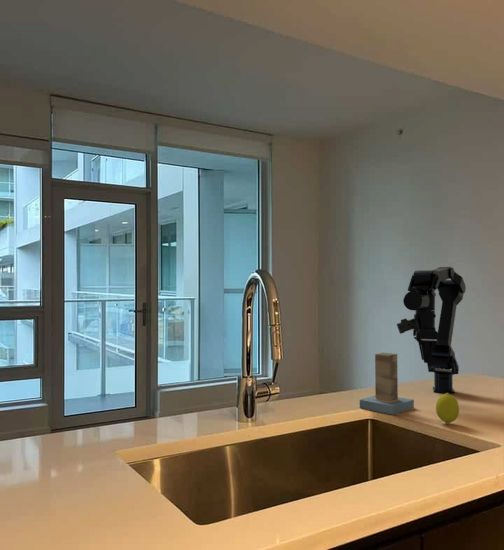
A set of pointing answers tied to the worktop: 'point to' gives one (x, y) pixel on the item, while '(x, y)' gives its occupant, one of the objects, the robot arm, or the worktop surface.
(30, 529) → the worktop surface
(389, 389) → the pillar
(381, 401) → the plate
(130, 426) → the worktop surface
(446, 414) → the lemon
